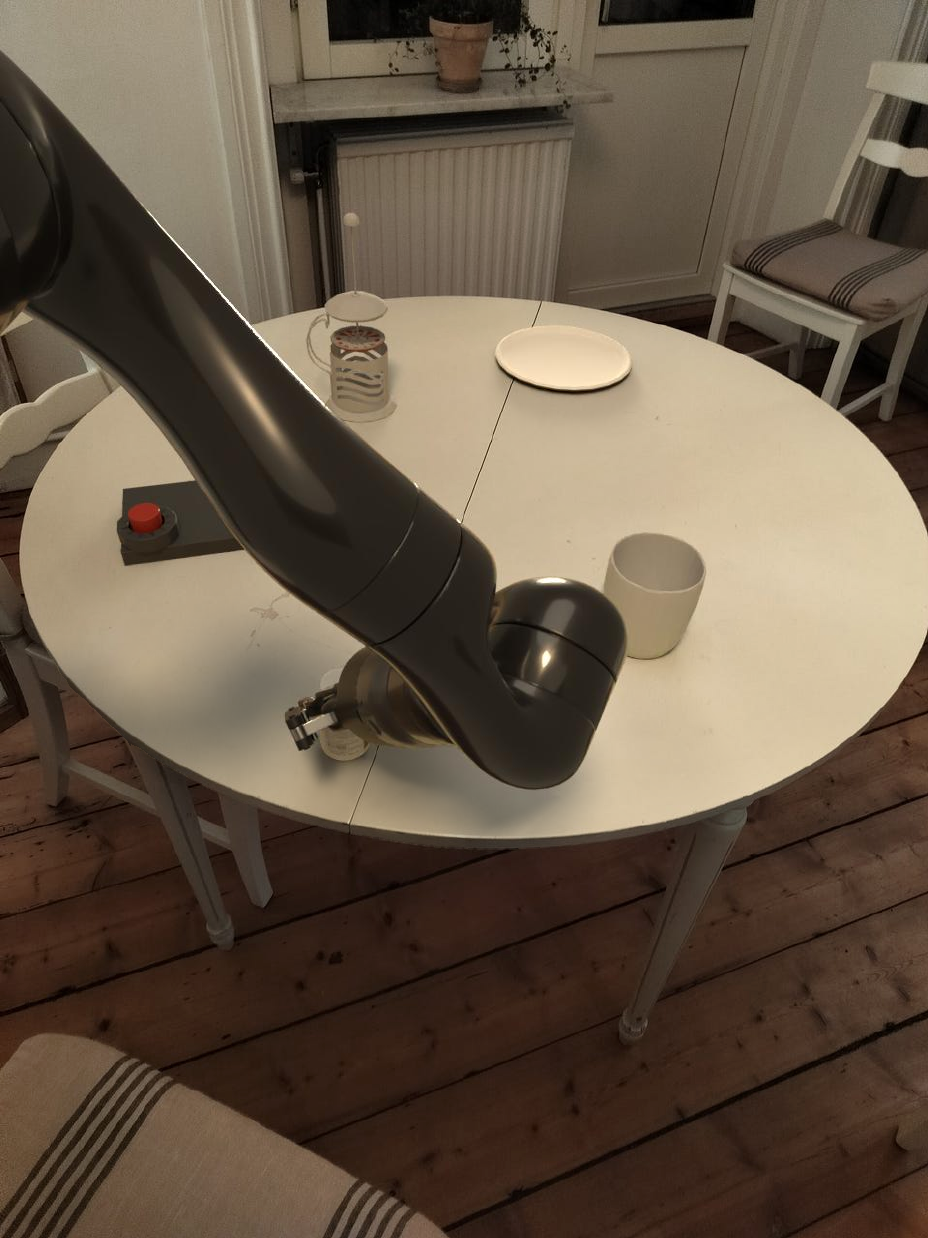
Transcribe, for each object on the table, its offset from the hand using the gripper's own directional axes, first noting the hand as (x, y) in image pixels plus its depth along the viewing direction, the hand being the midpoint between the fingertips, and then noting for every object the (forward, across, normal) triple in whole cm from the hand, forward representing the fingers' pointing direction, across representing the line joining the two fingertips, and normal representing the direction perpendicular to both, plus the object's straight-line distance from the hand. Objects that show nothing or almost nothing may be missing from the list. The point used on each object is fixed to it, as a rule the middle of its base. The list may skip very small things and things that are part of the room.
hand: (331, 698), depth 71 cm
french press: (+37, -32, -31) cm, 58 cm away
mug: (-1, -32, +7) cm, 33 cm away
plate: (+32, -65, -26) cm, 77 cm away
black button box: (+27, -3, -22) cm, 35 cm away
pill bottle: (+2, 0, +4) cm, 5 cm away
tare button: (+24, +3, -23) cm, 33 cm away
